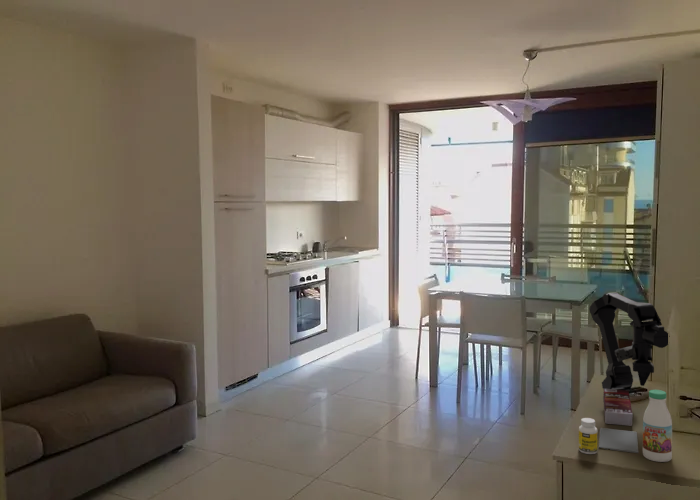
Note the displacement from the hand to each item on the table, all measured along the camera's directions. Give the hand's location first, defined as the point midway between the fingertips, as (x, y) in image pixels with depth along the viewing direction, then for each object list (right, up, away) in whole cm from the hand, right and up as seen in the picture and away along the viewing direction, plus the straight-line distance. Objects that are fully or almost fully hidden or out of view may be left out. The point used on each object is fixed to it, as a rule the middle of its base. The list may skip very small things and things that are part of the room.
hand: (642, 385), depth 204 cm
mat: (-14, -14, -14) cm, 25 cm away
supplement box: (-9, -11, -2) cm, 14 cm away
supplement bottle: (-27, -16, -20) cm, 37 cm away
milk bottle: (-8, -16, -26) cm, 32 cm away
